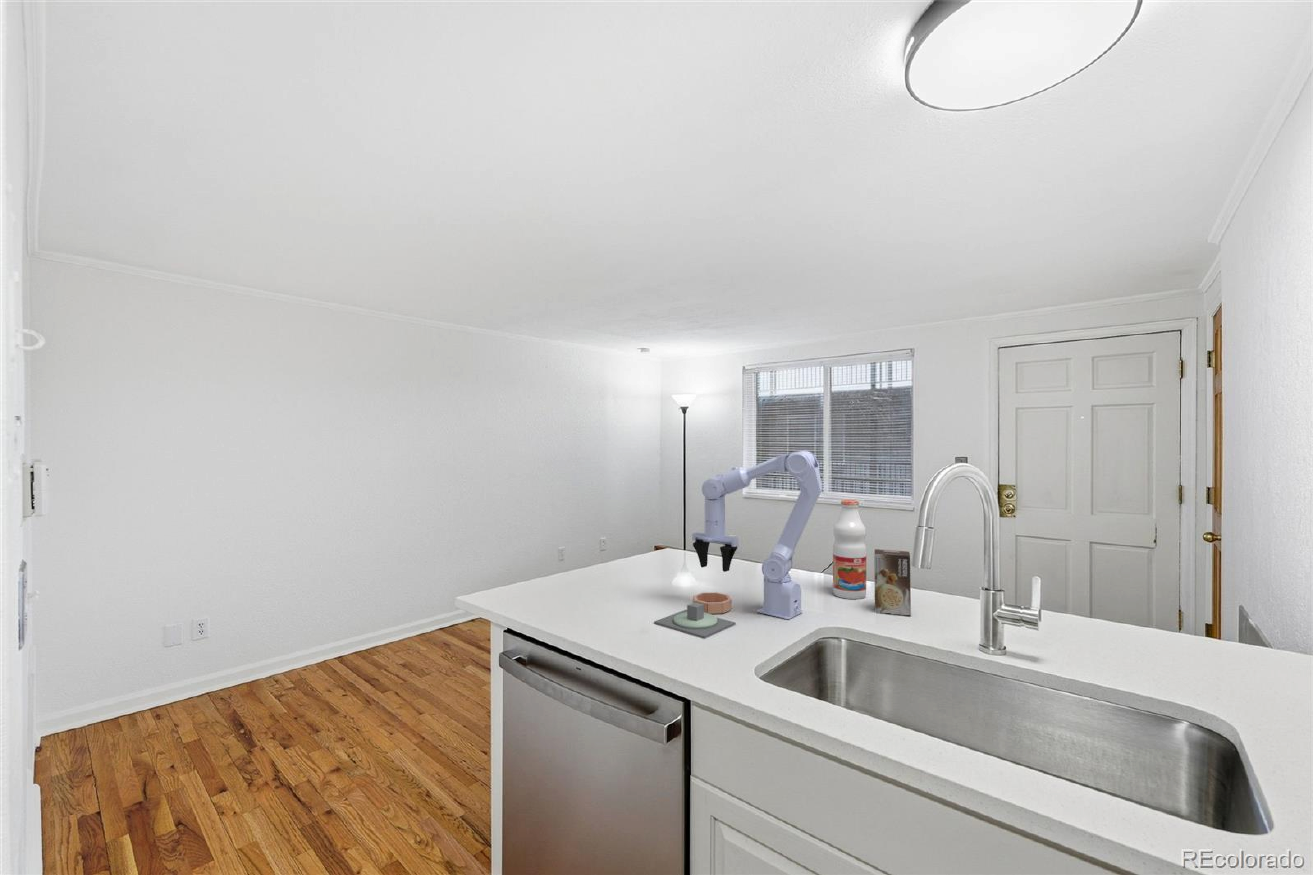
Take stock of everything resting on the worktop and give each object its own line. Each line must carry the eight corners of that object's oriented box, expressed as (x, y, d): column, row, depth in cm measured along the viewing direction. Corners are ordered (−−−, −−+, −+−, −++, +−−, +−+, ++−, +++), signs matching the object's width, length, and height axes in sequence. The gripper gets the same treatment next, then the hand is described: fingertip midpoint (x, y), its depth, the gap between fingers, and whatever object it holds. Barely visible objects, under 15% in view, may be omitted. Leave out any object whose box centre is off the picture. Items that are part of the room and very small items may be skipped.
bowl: (737, 608, 162) (737, 597, 162) (716, 617, 155) (716, 605, 155) (708, 600, 169) (708, 590, 169) (686, 609, 161) (686, 598, 161)
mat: (735, 624, 149) (735, 622, 149) (704, 638, 139) (704, 636, 139) (685, 611, 159) (685, 609, 159) (654, 623, 150) (654, 621, 150)
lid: (725, 620, 150) (725, 603, 150) (700, 632, 142) (700, 614, 142) (691, 612, 157) (691, 596, 157) (664, 622, 149) (664, 605, 149)
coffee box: (910, 610, 160) (910, 551, 160) (911, 617, 154) (911, 556, 154) (874, 606, 164) (874, 548, 163) (873, 612, 158) (874, 553, 158)
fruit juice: (857, 590, 179) (858, 498, 179) (871, 599, 170) (872, 502, 169) (827, 591, 178) (828, 498, 178) (840, 600, 169) (840, 503, 169)
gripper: (685, 519, 167) (685, 567, 168) (728, 525, 158) (728, 575, 158) (700, 516, 173) (700, 562, 173) (742, 522, 163) (742, 570, 163)
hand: (714, 568), depth 166 cm, fingers open, 7 cm apart
